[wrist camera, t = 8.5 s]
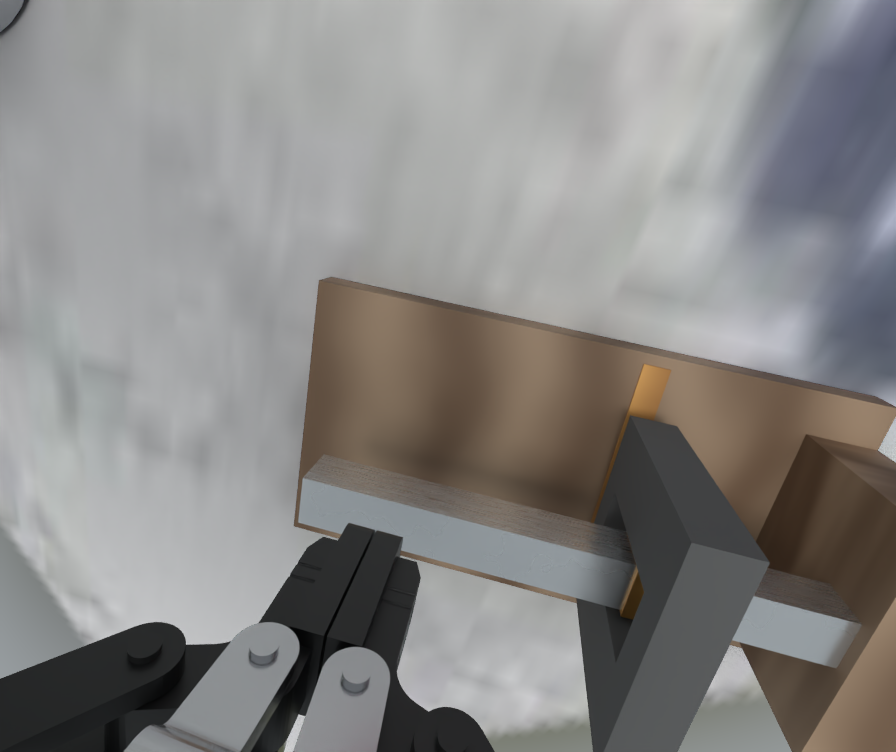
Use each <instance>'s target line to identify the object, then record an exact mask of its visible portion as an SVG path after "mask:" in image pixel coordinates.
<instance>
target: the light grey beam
mask: <svg viewBox="0 0 896 752" xmlns="http://www.w3.org/2000/svg"><path fill="white" fill-rule="evenodd" d="M298 523H302V524H305V525H309V526H313V527H317V528H320V529H324V530H328V531H331V532H335V533H339V534H342V532H343V531H344V529H345V527H346V526H347V524H348V523H352V524H355V525H359V526H363V527H366V528H370V529H374V530H375V532H376V531H377V530H378V531H382V532H386V533H389V534H393V535H397V536H400V537H403V543H402V548H401V551H405V552H409V553H412V554H416V555H420V556H423V557H427V558H431V559H435V560H438V561H442V562H446V563H449V564H453V565H457V566H460V567H464V568H468V569H471V570H475V571H479V572H482V573H486V574H490V575H494V576H497V577H501V578H505V579H508V580H512V581H516V582H519V583H523V584H527V585H530V586H534V587H538V588H541V589H545V590H549V591H553V592H556V593H560V594H564V595H567V596H571V597H575V598H578V599H582V600H586V601H589V602H593V603H597V604H600V605H604V606H608V607H612V608H615V609H619V611H620V615H621V617H625V618H628V619H632V620H633V619H634V617H635V614H636V612H637V609H638V606H639V604H640V601H641V599H642V596H643V594H644V590H643V586H642V583H641V580H640V576H639V573H638V569H637V566H636V562H635V559H634V556H633V552H632V549H631V545H630V542H629V538H628V535H627V532H625V531H622V530H618V529H614V528H610V527H606V526H602V525H598V524H594V523H590V522H586V521H582V520H579V519H575V518H571V517H567V516H563V515H559V514H555V513H551V512H547V511H543V510H540V509H536V508H532V507H528V506H524V505H520V504H516V503H512V502H508V501H504V500H500V499H497V498H493V497H489V496H485V495H481V494H477V493H473V492H469V491H465V490H461V489H457V488H454V487H450V486H446V485H442V484H438V483H434V482H430V481H426V480H422V479H418V478H415V477H411V476H407V475H403V474H399V473H395V472H391V471H387V470H383V469H379V468H375V467H372V466H368V465H364V464H360V463H356V462H352V461H348V460H344V459H340V458H336V457H333V456H329V455H325V454H324V455H323V456H322V457H321V458H320V459H319V460H318V461H317V463H316V464H315V465H314V466H313V467H312V468H311V469H310V470H309V472H308V473H307V474H306V475H305V476H304V477H303V481H302V490H301V500H300V509H299V519H298ZM861 626H862V623H861V622H860V621H859V620H858V618H857V617H856V616H855V615H854V614H853V612H852V611H851V610H850V609H849V607H848V606H847V605H846V604H845V602H844V601H843V600H842V599H841V597H840V596H839V595H838V594H837V592H836V591H835V590H834V589H833V587H832V586H831V585H830V584H829V583H825V582H821V581H817V580H813V579H809V578H805V577H801V576H797V575H793V574H789V573H786V572H782V571H778V570H774V569H770V568H767V570H766V572H765V574H764V576H763V578H762V580H761V582H760V584H759V586H758V588H757V590H756V592H755V594H754V596H753V598H752V601H751V603H750V605H749V607H748V609H747V611H746V613H745V615H744V617H743V619H742V621H741V623H740V625H739V627H738V629H737V631H736V633H735V635H734V637H733V639H732V640H733V641H737V642H741V643H744V644H748V645H752V646H755V647H759V648H763V649H766V650H770V651H774V652H777V653H781V654H785V655H789V656H792V657H796V658H800V659H803V660H807V661H811V662H814V663H818V664H822V665H825V666H829V667H833V668H837V667H838V665H839V663H840V662H841V660H842V658H843V657H844V655H845V653H846V652H847V650H848V648H849V647H850V645H851V643H852V642H853V640H854V638H855V636H856V635H857V633H858V631H859V630H860V628H861Z"/></svg>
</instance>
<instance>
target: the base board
mask: <svg viewBox="0 0 896 752" xmlns="http://www.w3.org/2000/svg"><path fill="white" fill-rule="evenodd" d="M630 415H631V416H636V417H640V418H644V419H649V420H653V421H657V422H661V423H666V424H670V425H674V426H677V427H678V428H679V430H680V431H681V433H682V434H683V436H684V437H685V438H686V440H687V441H688V443H689V444H690V446H691V447H692V449H693V450H694V452H695V453H696V455H697V456H698V458H699V459H700V461H701V462H702V463H703V465H704V466H705V468H706V469H707V471H708V472H709V474H710V475H711V477H712V478H713V480H714V481H715V483H716V484H717V486H718V487H719V488H720V490H721V491H722V493H723V494H724V496H725V497H726V499H727V500H728V502H729V503H730V505H731V506H732V508H733V509H734V510H735V512H736V513H737V515H738V516H739V518H740V519H741V521H742V522H743V524H744V525H745V527H746V528H747V530H748V531H749V533H750V534H751V535H752V537H753V538H754V540H755V541H756V543H757V544H758V546H759V547H760V549H761V550H762V552H763V553H764V555H765V556H766V558H767V559H768V560H769V562H770V564H769V566H768V568H770V569H774V570H778V571H782V572H786V573H789V574H793V575H797V576H801V577H805V578H809V579H813V580H817V581H821V582H825V583H829V584H830V585H831V586H832V587H833V589H834V590H835V591H836V592H837V594H838V595H839V596H840V597H841V599H842V600H843V601H844V602H845V604H846V605H847V606H848V607H849V609H850V610H851V611H852V612H853V614H854V615H855V616H856V617H857V618H858V620H859V621H860V622H861V623H862V626H861V628H860V630H859V631H858V633H857V635H856V636H855V638H854V640H853V642H852V643H851V645H850V647H849V648H848V650H847V652H846V653H845V655H844V657H843V658H842V660H841V662H840V663H839V665H838V667H837V668H833V667H829V666H825V665H822V664H818V663H814V662H811V661H807V660H803V659H800V658H796V657H792V656H789V655H785V654H781V653H777V652H774V651H770V650H766V649H763V648H759V647H755V646H752V645H748V644H744V643H741V642H737V641H733V640H732V641H731V643H730V645H732V646H736V647H740V648H742V649H743V651H744V653H745V655H746V657H747V659H748V661H749V663H750V665H751V667H752V669H753V672H754V674H755V676H756V678H757V680H758V682H759V684H760V686H761V688H762V690H763V692H764V694H765V697H766V699H767V701H768V703H769V705H770V706H771V709H772V711H773V713H774V715H775V717H776V719H777V721H778V724H779V726H780V728H781V730H782V732H783V734H784V736H785V738H786V740H787V742H788V744H789V746H790V748H791V751H792V752H896V463H895V462H894V461H892V460H891V459H889V458H888V457H886V456H885V455H883V454H882V453H881V452H879V451H878V449H879V447H880V445H881V443H882V441H883V439H884V437H885V436H886V434H887V432H888V430H889V428H890V426H891V424H892V422H893V420H894V419H895V417H896V407H895V406H893V405H891V404H889V403H887V402H885V401H883V400H882V399H880V398H878V397H875V396H870V395H865V394H861V393H856V392H852V391H847V390H843V389H838V388H834V387H829V386H825V385H820V384H815V383H811V382H806V381H802V380H797V379H793V378H788V377H784V376H779V375H775V374H770V373H765V372H761V371H756V370H752V369H747V368H743V367H738V366H734V365H729V364H725V363H720V362H715V361H711V360H706V359H702V358H697V357H693V356H688V355H684V354H679V353H675V352H670V351H665V350H661V349H656V348H652V347H647V346H643V345H638V344H634V343H629V342H625V341H620V340H615V339H611V338H606V337H602V336H597V335H593V334H588V333H584V332H579V331H575V330H570V329H565V328H561V327H556V326H552V325H547V324H543V323H538V322H534V321H529V320H525V319H520V318H515V317H511V316H506V315H502V314H497V313H493V312H488V311H484V310H479V309H474V308H470V307H465V306H461V305H456V304H452V303H447V302H443V301H438V300H434V299H429V298H424V297H420V296H415V295H411V294H406V293H402V292H397V291H393V290H388V289H384V288H379V287H374V286H370V285H365V284H361V283H356V282H352V281H347V280H343V279H338V278H334V277H329V278H326V279H322V280H319V285H318V295H317V305H316V314H315V324H314V334H313V344H312V354H311V363H310V373H309V383H308V393H307V403H306V412H305V422H304V432H303V442H302V452H301V461H300V471H299V481H298V491H297V501H296V510H295V520H294V526H295V527H299V528H302V529H306V530H310V531H314V532H317V533H321V534H325V535H328V536H332V537H336V538H340V536H341V534H339V533H335V532H331V531H328V530H324V529H320V528H317V527H313V526H309V525H305V524H302V523H298V519H299V509H300V500H301V490H302V481H303V477H304V476H305V475H306V474H307V473H308V472H309V470H310V469H311V468H312V467H313V466H314V465H315V464H316V463H317V461H318V460H319V459H320V458H321V457H322V456H323V455H324V454H325V455H329V456H333V457H336V458H340V459H344V460H348V461H352V462H356V463H360V464H364V465H368V466H372V467H375V468H379V469H383V470H387V471H391V472H395V473H399V474H403V475H407V476H411V477H415V478H418V479H422V480H426V481H430V482H434V483H438V484H442V485H446V486H450V487H454V488H457V489H461V490H465V491H469V492H473V493H477V494H481V495H485V496H489V497H493V498H497V499H500V500H504V501H508V502H512V503H516V504H520V505H524V506H528V507H532V508H536V509H540V510H543V511H547V512H551V513H555V514H559V515H563V516H567V517H571V518H575V519H579V520H582V521H586V522H590V523H594V521H595V518H596V515H597V512H598V509H599V506H600V503H601V500H602V497H603V495H604V492H605V489H606V486H607V483H608V480H609V477H610V474H611V471H612V468H613V465H614V462H615V459H616V456H617V453H618V450H619V447H620V444H621V441H622V438H623V435H624V432H625V429H626V426H627V423H628V420H629V417H630ZM400 555H402V556H405V557H409V558H413V559H416V560H420V561H424V562H427V563H431V564H435V565H438V566H442V567H446V568H449V569H453V570H457V571H460V572H464V573H468V574H471V575H475V576H479V577H483V578H486V579H490V580H494V581H497V582H501V583H505V584H508V585H512V586H516V587H519V588H523V589H527V590H530V591H534V592H538V593H541V594H545V595H549V596H552V597H556V598H560V599H563V600H567V601H571V602H574V603H577V599H576V598H575V597H571V596H567V595H564V594H560V593H556V592H553V591H549V590H545V589H541V588H538V587H534V586H530V585H527V584H523V583H519V582H516V581H512V580H508V579H505V578H501V577H497V576H494V575H490V574H486V573H482V572H479V571H475V570H471V569H468V568H464V567H460V566H457V565H453V564H449V563H446V562H442V561H438V560H435V559H431V558H427V557H423V556H420V555H416V554H412V553H409V552H405V551H401V552H400Z"/></svg>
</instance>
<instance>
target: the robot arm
mask: <svg viewBox="0 0 896 752" xmlns="http://www.w3.org/2000/svg"><path fill="white" fill-rule="evenodd" d="M23 2H24V0H0V32H1V31H2V30H3V29H4V28H5V27H7V26H8V25H9V24H10V23H11V22H12V20H13V19H14V18H15V16H16V15H17V13H18V12H19V10H20V9H21V7H22V5H23ZM402 543H403V537H400V536H397V535H393V534H389V533H386V532H382V531H378V530H377V531H376V532H375V530H374V529H370V528H366V527H363V526H359V525H355V524H352V523H348V524H347V526H346V527H345V529H344V531H343V532H342V534H341V536H340V538H339V540H338V541H337V540H333V539H329V538H325V537H322V538H321V539H319V540H318V541H316V542H315V543H313V544H312V545H310V546H309V547H308V548H307V549H306V551H305V552H304V554H303V555H302V557H301V558H300V560H299V562H298V564H297V565H296V566H295V568H294V569H293V571H292V572H291V574H290V577H288V579H287V580H286V582H285V583H284V585H283V586H282V588H281V589H280V591H279V592H278V594H277V596H276V597H275V599H274V600H273V602H272V603H271V605H270V606H269V608H268V610H267V611H266V613H265V614H264V616H263V617H262V619H261V620H260V622H259V623H258V624H254V625H252V626H249V627H247V628H245V629H244V630H242V631H241V632H240V633H238V634H237V635H236V636H235V637H234V638H233V640H232V641H230V642H227V643H222V644H204V645H186V640H185V637H184V634H183V633H182V631H181V630H179V629H178V628H177V627H175V626H174V625H171V624H168V623H162V622H153V623H146V624H142V625H139V626H135V627H133V628H130V629H128V630H125V631H122V632H120V633H117V634H115V635H112V636H110V637H107V638H104V639H102V640H99V641H97V642H94V643H92V644H89V645H86V646H84V647H81V648H79V649H76V650H74V651H71V652H68V653H66V654H63V655H61V656H58V657H56V658H53V659H50V660H48V661H45V662H43V663H40V664H37V665H35V666H32V667H30V668H27V669H24V670H22V671H19V672H17V673H14V674H12V675H9V676H6V677H4V678H1V679H0V752H284V750H285V746H286V741H287V738H288V736H289V734H290V732H291V730H292V728H293V725H294V723H295V721H296V719H297V716H298V714H300V715H303V716H305V719H304V722H303V725H302V728H301V731H300V734H299V736H298V739H297V742H296V745H295V748H294V751H293V752H494V750H493V748H492V746H491V745H490V743H489V741H488V739H487V738H486V736H485V734H484V732H483V731H482V729H481V728H480V726H479V725H478V723H477V722H476V721H475V720H474V719H473V718H472V717H471V716H469V715H468V714H466V713H465V712H463V711H461V710H458V709H455V708H451V707H441V708H436V709H433V710H431V711H429V712H428V711H427V710H425V709H424V708H422V707H421V706H419V705H418V704H416V703H415V702H414V701H413V700H411V699H410V698H409V697H408V696H407V695H406V693H405V692H404V690H403V689H402V687H401V685H400V683H399V680H398V677H397V669H398V665H399V662H400V658H401V654H402V651H403V647H404V644H405V640H406V636H407V633H408V629H409V625H410V622H411V617H412V613H413V609H414V604H415V600H416V596H417V592H418V587H419V583H420V579H421V578H420V574H419V569H418V565H417V562H414V561H411V560H407V559H403V558H400V552H401V548H402Z"/></svg>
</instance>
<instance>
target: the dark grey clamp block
mask: <svg viewBox="0 0 896 752" xmlns="http://www.w3.org/2000/svg"><path fill="white" fill-rule="evenodd" d="M594 524H598V525H602V526H606V527H610V528H614V529H618V530H622V531H625V532H627V535H628V538H629V542H630V545H631V549H632V552H633V556H634V559H635V562H636V566H637V569H638V573H639V576H640V580H641V583H642V586H643V590H644V594H643V596H642V599H641V601H640V604H639V606H638V609H637V612H636V614H635V617H634V619H633V620H632V619H628V618H625V617H621V615H620V611H619V609H615V608H612V607H608V606H604V605H600V604H597V603H593V602H589V601H586V600H582V599H578V598H576V599H577V608H578V617H579V627H580V636H581V645H582V654H583V663H584V672H585V681H586V691H587V700H588V709H589V718H590V727H591V736H592V745H593V752H677V751H678V749H679V747H680V745H681V743H682V741H683V739H684V737H685V735H686V733H687V731H688V729H689V727H690V725H691V723H692V721H693V719H694V717H695V715H696V713H697V711H698V709H699V707H700V704H701V702H702V700H703V698H704V696H705V694H706V692H707V690H708V688H709V686H710V684H711V682H712V680H713V678H714V676H715V674H716V672H717V670H718V668H719V666H720V664H721V662H722V660H723V658H724V656H725V654H726V651H727V649H728V647H729V645H730V643H731V641H732V639H733V637H734V635H735V633H736V631H737V629H738V627H739V625H740V623H741V621H742V619H743V617H744V615H745V613H746V611H747V609H748V607H749V605H750V603H751V601H752V598H753V596H754V594H755V592H756V590H757V588H758V586H759V584H760V582H761V580H762V578H763V576H764V574H765V572H766V570H767V568H768V566H769V564H770V562H769V560H768V559H767V558H766V556H765V555H764V553H763V552H762V550H761V549H760V547H759V546H758V544H757V543H756V541H755V540H754V538H753V537H752V535H751V534H750V533H749V531H748V530H747V528H746V527H745V525H744V524H743V522H742V521H741V519H740V518H739V516H738V515H737V513H736V512H735V510H734V509H733V508H732V506H731V505H730V503H729V502H728V500H727V499H726V497H725V496H724V494H723V493H722V491H721V490H720V488H719V487H718V486H717V484H716V483H715V481H714V480H713V478H712V477H711V475H710V474H709V472H708V471H707V469H706V468H705V466H704V465H703V463H702V462H701V461H700V459H699V458H698V456H697V455H696V453H695V452H694V450H693V449H692V447H691V446H690V444H689V443H688V441H687V440H686V438H685V437H684V436H683V434H682V433H681V431H680V430H679V428H678V427H677V426H674V425H670V424H666V423H661V422H657V421H653V420H649V419H644V418H640V417H636V416H631V415H630V417H629V420H628V423H627V426H626V429H625V432H624V435H623V438H622V441H621V444H620V447H619V450H618V453H617V456H616V459H615V462H614V465H613V468H612V471H611V474H610V477H609V480H608V483H607V486H606V489H605V492H604V495H603V497H602V500H601V503H600V506H599V509H598V512H597V515H596V518H595V521H594Z"/></svg>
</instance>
